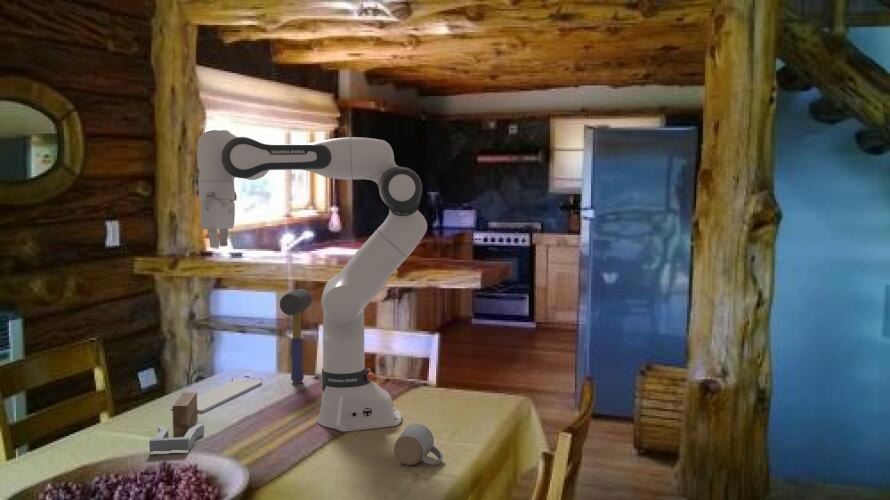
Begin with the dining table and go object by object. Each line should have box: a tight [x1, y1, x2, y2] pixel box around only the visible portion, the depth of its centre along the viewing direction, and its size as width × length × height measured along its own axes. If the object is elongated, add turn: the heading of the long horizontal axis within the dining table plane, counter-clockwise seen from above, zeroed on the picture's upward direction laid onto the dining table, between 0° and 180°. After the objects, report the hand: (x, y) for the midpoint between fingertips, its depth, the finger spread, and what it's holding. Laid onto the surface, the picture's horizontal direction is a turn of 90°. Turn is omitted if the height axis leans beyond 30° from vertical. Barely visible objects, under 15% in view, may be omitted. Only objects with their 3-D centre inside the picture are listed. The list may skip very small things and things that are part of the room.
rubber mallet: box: [279, 288, 313, 384], centre depth 232 cm, size 12×8×30 cm, turn 172°
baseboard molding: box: [169, 375, 263, 414], centre depth 218 cm, size 31×3×12 cm
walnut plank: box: [171, 391, 199, 438], centre depth 189 cm, size 4×12×8 cm, turn 8°
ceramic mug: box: [393, 422, 444, 466], centre depth 167 cm, size 11×8×8 cm
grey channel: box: [149, 423, 205, 453], centre depth 178 cm, size 11×14×4 cm
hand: (219, 246), depth 188 cm, fingers open, 8 cm apart
